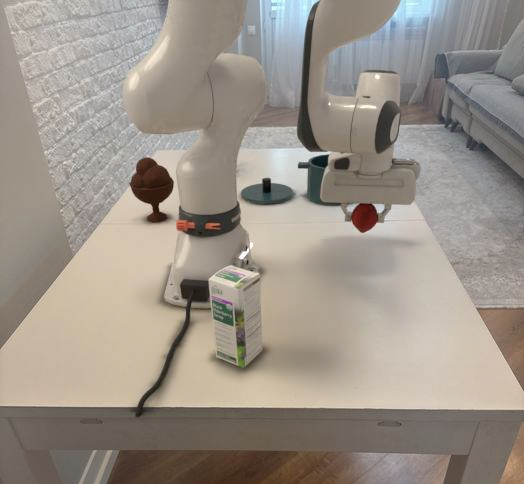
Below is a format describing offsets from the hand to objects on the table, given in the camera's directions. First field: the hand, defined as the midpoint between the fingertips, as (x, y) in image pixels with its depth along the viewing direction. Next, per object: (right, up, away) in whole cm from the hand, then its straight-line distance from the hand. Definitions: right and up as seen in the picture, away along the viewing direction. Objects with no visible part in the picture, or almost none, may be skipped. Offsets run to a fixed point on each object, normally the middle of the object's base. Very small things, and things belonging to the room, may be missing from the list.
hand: (363, 221), depth 110 cm
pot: (-3, +14, +26) cm, 30 cm away
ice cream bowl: (-50, +5, +17) cm, 53 cm away
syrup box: (-27, -30, -30) cm, 50 cm away
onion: (0, -2, +2) cm, 3 cm away
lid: (-22, +15, +28) cm, 38 cm away
